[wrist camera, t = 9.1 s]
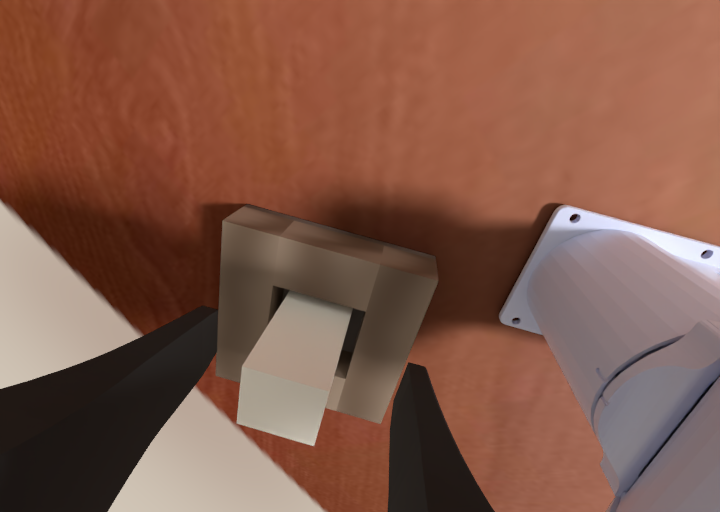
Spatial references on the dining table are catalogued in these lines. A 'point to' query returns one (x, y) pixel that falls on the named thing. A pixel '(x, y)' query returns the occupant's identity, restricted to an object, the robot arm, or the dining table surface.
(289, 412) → the peg
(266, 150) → the dining table surface
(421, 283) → the socket block
